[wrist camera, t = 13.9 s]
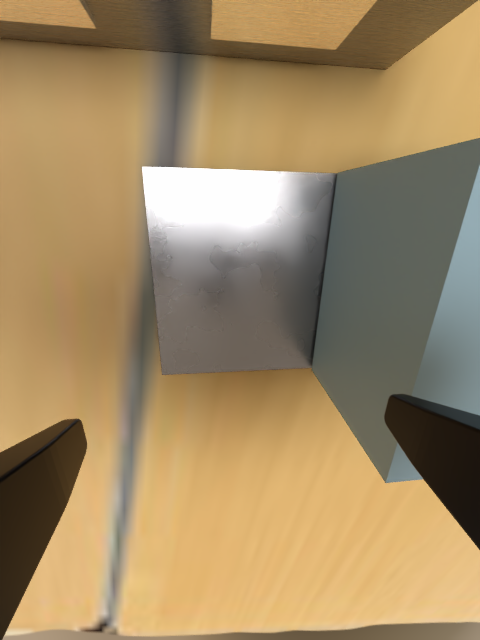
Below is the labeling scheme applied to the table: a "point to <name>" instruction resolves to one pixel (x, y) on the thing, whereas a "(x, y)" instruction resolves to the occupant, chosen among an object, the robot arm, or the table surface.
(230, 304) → the dark grey case
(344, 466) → the table surface
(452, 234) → the pale blue box
